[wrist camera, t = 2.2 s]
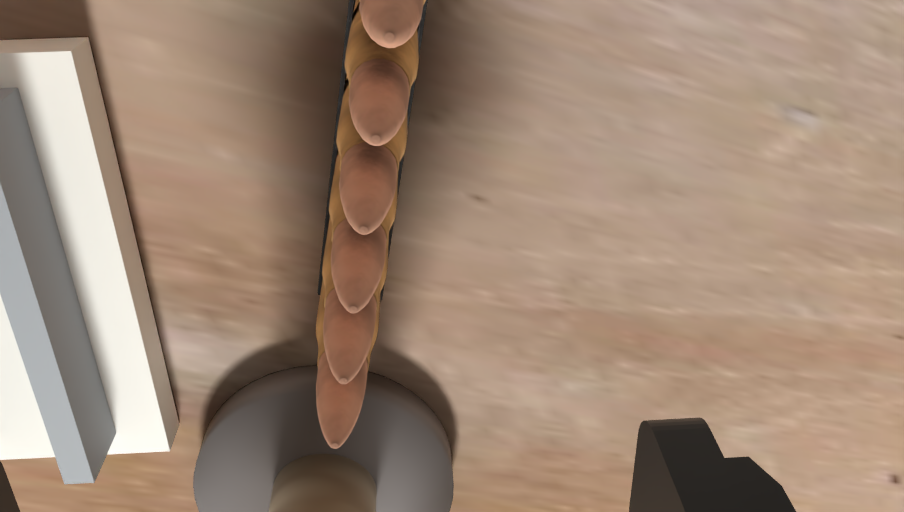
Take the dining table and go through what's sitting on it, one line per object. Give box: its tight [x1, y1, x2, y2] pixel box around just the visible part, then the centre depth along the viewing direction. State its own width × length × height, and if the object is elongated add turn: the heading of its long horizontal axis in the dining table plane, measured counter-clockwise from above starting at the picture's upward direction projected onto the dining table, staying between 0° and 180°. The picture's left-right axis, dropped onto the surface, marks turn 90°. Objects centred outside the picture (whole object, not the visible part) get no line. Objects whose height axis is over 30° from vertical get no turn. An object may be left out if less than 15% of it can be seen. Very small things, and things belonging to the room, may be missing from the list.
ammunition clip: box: [316, 0, 427, 449], centre depth 21 cm, size 11×2×12 cm, turn 170°
